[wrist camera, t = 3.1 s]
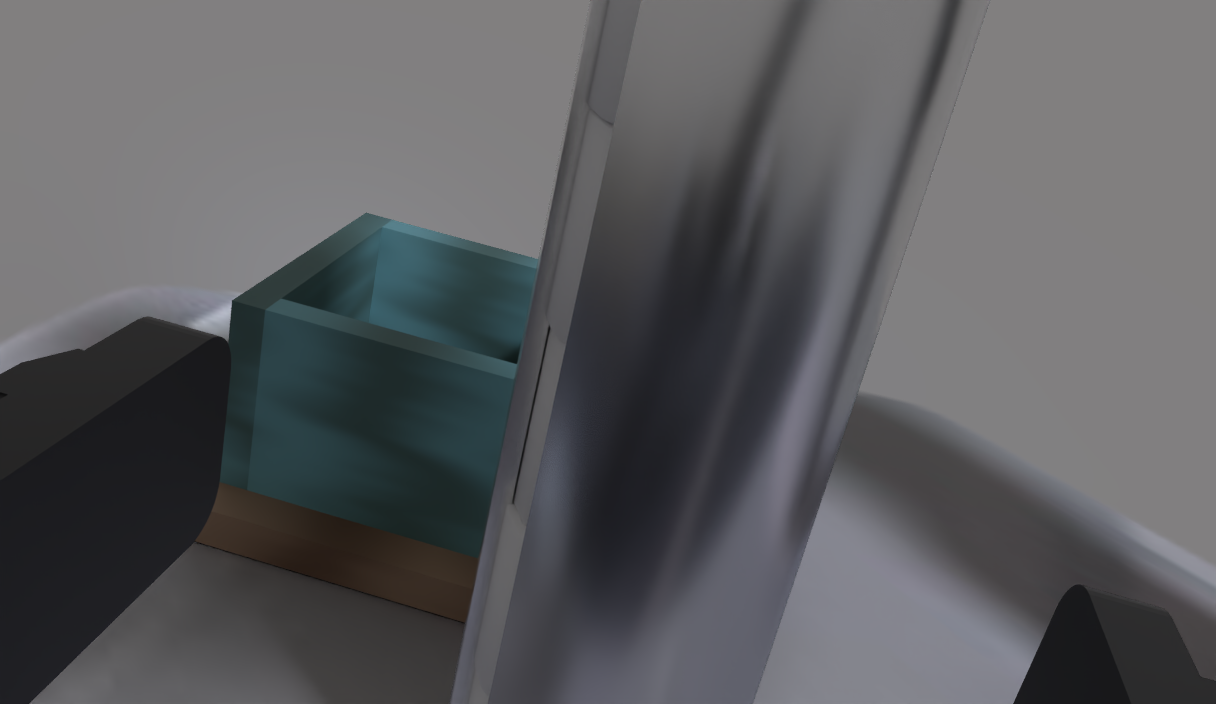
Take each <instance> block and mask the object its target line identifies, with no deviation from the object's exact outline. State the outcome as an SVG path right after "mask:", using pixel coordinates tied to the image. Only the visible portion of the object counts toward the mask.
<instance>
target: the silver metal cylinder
mask: <svg viewBox="0 0 1216 704" xmlns="http://www.w3.org/2000/svg"><path fill="white" fill-rule="evenodd" d="M989 3H990V0H590V4H589V9H588V14H587V19H586V24H585V29H584V34H583V39H582V44H581V49H580V54H579V59H578V63H577V68H576V74H575V78H574V83H573V89H572V93H571V98H570V103H569V108H568V114H567V119H566V123H565V129H564V133H563V138H562V143H561V148H560V154H559V158H558V163H557V168H556V173H555V178H554V183H553V188H552V193H551V198H550V203H549V208H548V213H547V218H546V223H545V228H544V233H543V238H542V243H541V248H540V253H539V258H538V263H537V268H536V273H535V277H534V282H533V287H532V292H531V297H530V302H529V307H528V312H527V317H526V322H525V327H524V332H523V337H522V342H521V347H520V352H519V357H518V362H517V367H516V372H515V377H514V382H513V387H512V392H511V397H510V402H509V407H508V412H507V417H506V422H505V427H504V432H503V437H502V442H501V447H500V452H499V457H498V462H497V467H496V472H495V477H494V482H493V487H492V491H491V496H490V501H489V506H488V511H487V516H486V521H485V526H484V531H483V536H482V541H481V546H480V551H479V556H478V561H477V566H476V571H475V576H474V581H473V586H472V591H471V596H470V601H469V606H468V611H467V616H466V621H465V626H464V631H463V636H462V641H461V646H460V651H459V656H458V661H457V666H456V671H455V676H454V681H453V686H452V691H451V696H450V701H449V704H753V702H754V699H755V696H756V693H757V690H758V687H759V684H760V681H761V678H762V675H763V672H764V670H765V667H766V664H767V661H768V658H769V655H770V652H771V649H772V646H773V643H774V640H775V637H776V634H777V631H778V628H779V625H780V622H781V619H782V616H783V613H784V610H785V607H786V604H787V601H788V598H789V595H790V592H791V589H792V587H793V584H794V581H795V578H796V575H797V572H798V569H799V566H800V563H801V560H802V557H803V554H804V551H805V548H806V545H807V542H808V539H809V536H810V533H811V530H812V527H813V524H814V521H815V518H816V515H817V512H818V509H819V507H820V504H821V501H822V498H823V495H824V492H825V489H826V486H827V483H828V480H829V477H830V474H831V471H832V468H833V465H834V462H835V459H836V456H837V453H838V450H839V447H840V444H841V441H842V438H843V435H844V432H845V429H846V427H847V424H848V421H849V418H850V415H851V412H852V409H853V406H854V403H855V400H856V397H857V394H858V391H859V388H860V385H861V382H862V379H863V376H864V373H865V370H866V367H867V364H868V361H869V358H870V355H871V352H872V349H873V347H874V344H875V340H876V338H877V335H878V332H879V329H880V326H881V323H882V320H883V317H884V314H885V311H886V308H887V304H888V302H889V299H890V296H891V293H892V290H893V287H894V284H895V281H896V278H897V275H898V272H899V269H900V267H901V263H902V260H903V257H904V255H905V252H906V249H907V245H908V243H909V240H910V237H911V234H912V231H913V228H914V225H915V222H916V219H917V216H918V213H919V210H920V207H921V204H922V201H923V198H924V195H925V192H926V189H927V186H928V184H929V181H930V178H931V174H932V172H933V168H934V166H935V163H936V160H937V156H938V154H939V151H940V148H941V145H942V142H943V139H944V136H945V133H946V130H947V127H948V124H949V121H950V118H951V115H952V112H953V109H954V106H955V104H956V101H957V97H958V95H959V92H960V89H961V86H962V83H963V80H964V77H965V74H966V71H967V68H968V65H969V62H970V59H971V56H972V53H973V50H974V47H975V44H976V41H977V38H978V35H979V32H980V29H981V26H982V24H983V21H984V18H985V14H986V12H987V9H988V6H989Z"/></svg>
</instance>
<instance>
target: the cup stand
mask: <svg viewBox="0 0 1216 704" xmlns="http://www.w3.org/2000/svg"><path fill="white" fill-rule="evenodd" d="M537 263H538V259H535V258H532V257H528V256H524V255H521V254H517V253H513V252H509V251H505V250H502V249H498V248H494V247H491V246H487V245H483V244H480V243H476V242H472V241H469V240H465V239H461V238H458V237H454V236H450V235H446V234H442V233H439V232H435V231H432V230H428V229H424V228H420V227H416V226H413V225H409V224H405V223H402V222H398V221H395V220H391V219H387V218H383V217H380V216H376V215H372V214H369V213H365V214H364V215H362V216H361V217H359V218H358V219H356V220H355V221H353V222H351V223H350V224H348V225H347V226H345V227H344V228H342V229H341V230H339V231H338V232H336V233H335V234H333V235H332V236H330V237H329V238H327V239H325V240H324V241H322V242H321V243H319V244H318V245H316V246H315V247H313V248H312V249H310V250H309V251H307V252H306V253H304V254H303V255H301V256H299V257H298V258H296V259H295V260H293V261H292V262H290V263H289V264H287V265H286V266H284V267H283V268H281V269H280V270H278V271H277V272H275V273H274V274H272V275H270V276H269V277H267V278H266V279H264V280H263V281H261V282H260V283H258V284H257V285H255V286H254V287H252V288H251V289H249V290H248V291H246V292H244V293H243V294H241V295H240V296H238V297H237V298H235V299H234V300H232V308H231V320H230V331H229V343H228V345H229V348H230V352H231V374H230V384H229V394H228V404H227V414H226V424H225V434H224V444H223V454H222V464H221V474H220V483H219V488H218V493H217V497H216V500H215V503H214V506H213V509H212V511H211V514H210V516H209V518H208V520H207V522H206V524H205V526H204V528H203V530H202V531H201V533H200V534H199V536H198V537H197V539H196V540H195V542H199V543H202V544H205V545H209V546H212V547H215V548H219V549H222V550H225V551H229V552H232V553H235V554H239V555H242V556H245V557H249V558H252V559H255V560H258V561H262V562H265V563H268V564H272V565H275V566H278V567H282V568H285V569H288V570H292V571H295V572H298V573H302V574H305V575H308V576H312V577H315V578H318V579H322V580H325V581H328V582H331V583H335V584H338V585H341V586H345V587H348V588H351V589H355V590H358V591H361V592H365V593H368V594H371V595H375V596H378V597H381V598H385V599H388V600H391V601H395V602H398V603H401V604H404V605H408V606H411V607H414V608H418V609H421V610H424V611H428V612H431V613H434V614H438V615H441V616H444V617H448V618H451V619H454V620H458V621H461V622H464V623H465V621H466V616H467V611H468V606H469V601H470V596H471V591H472V586H473V581H474V576H475V571H476V566H477V561H478V556H479V551H480V546H481V541H482V536H483V531H484V526H485V521H486V516H487V511H488V506H489V501H490V496H491V491H492V487H493V482H494V477H495V472H496V467H497V462H498V457H499V452H500V447H501V442H502V437H503V432H504V427H505V422H506V417H507V412H508V407H509V402H510V397H511V392H512V387H513V382H514V377H515V372H516V367H517V362H518V357H519V352H520V347H521V342H522V337H523V332H524V327H525V322H526V317H527V312H528V307H529V302H530V297H531V292H532V287H533V282H534V277H535V273H536V268H537Z"/></svg>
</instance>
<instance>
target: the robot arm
mask: <svg viewBox="0 0 1216 704" xmlns="http://www.w3.org/2000/svg"><path fill="white" fill-rule="evenodd" d="M230 374H231V352H230V348H229V345H228V343H227V341H226V340H225V339H224V338H222V337H219V336H216V335H212V334H209V333H205V332H202V331H198V330H195V329H191V328H188V327H184V326H181V325H177V324H174V323H170V322H167V321H163V320H160V319H156V318H153V317H143V318H141V319H138V320H136V321H135V322H133V323H131V324H129V325H128V326H126V327H124V328H123V329H121V330H119V331H117V332H116V333H114V334H112V335H110V336H109V337H107V338H105V339H104V340H102V341H100V342H98V343H97V344H95V345H93V346H91V347H90V348H88V349H86V350H80V349H75V350H71V351H67V352H63V353H59V354H55V355H51V356H47V357H43V358H39V359H35V360H31V361H26V362H22V363H20V364H18V365H16V366H15V367H13V368H11V369H9V370H7V371H5V372H4V373H2V374H0V704H29V703H30V702H31V701H32V700H33V699H34V698H35V697H36V696H37V695H38V694H39V693H40V692H41V691H42V690H43V689H44V688H46V687H47V686H48V685H49V684H50V683H51V682H52V681H53V680H54V679H55V678H56V677H57V676H58V675H59V674H60V673H61V672H62V671H63V670H64V669H65V668H66V667H67V666H68V665H69V664H70V663H71V662H72V661H73V660H74V659H75V658H76V657H77V656H78V655H79V654H80V653H81V652H82V651H83V650H84V649H85V648H86V647H87V646H88V645H89V644H90V643H91V642H93V641H94V640H95V639H96V638H97V637H98V636H99V635H100V634H101V633H102V632H103V631H104V630H105V629H106V628H107V627H108V626H109V625H110V624H111V623H112V622H113V621H114V620H115V619H116V618H117V617H118V616H119V615H120V614H121V613H122V612H123V611H124V610H125V609H126V608H127V607H128V606H129V605H130V604H131V603H132V602H133V601H134V600H135V599H136V598H137V597H139V596H140V595H141V594H142V593H143V592H144V591H145V590H146V589H147V588H148V587H149V586H150V585H151V584H152V583H153V582H154V581H155V580H156V579H157V578H158V577H159V576H160V575H161V574H162V573H163V572H164V571H165V570H166V569H167V568H168V567H169V566H170V565H171V564H172V563H173V562H174V561H175V560H176V559H177V558H178V557H179V556H180V555H181V554H182V553H183V552H184V551H186V550H187V549H188V548H189V547H190V546H191V544H192V543H193V542H194V541H195V540H196V539H197V537H198V536H199V534H200V533H201V531H202V530H203V528H204V526H205V524H206V522H207V520H208V518H209V516H210V514H211V511H212V509H213V506H214V503H215V500H216V497H217V493H218V488H219V483H220V474H221V464H222V454H223V444H224V434H225V424H226V414H227V404H228V394H229V384H230ZM1013 704H1216V681H1213V680H1210V679H1206V678H1203V677H1200V675H1199V673H1198V671H1197V669H1196V667H1195V665H1194V662H1193V660H1192V658H1191V656H1190V654H1189V652H1188V650H1187V648H1186V646H1185V644H1184V642H1183V640H1182V638H1181V636H1180V634H1179V632H1178V630H1177V628H1176V626H1175V624H1174V622H1173V620H1172V618H1171V616H1170V615H1169V613H1168V612H1167V611H1166V610H1165V609H1163V608H1160V607H1157V606H1153V605H1150V604H1146V603H1143V602H1139V601H1136V600H1132V599H1129V598H1125V597H1122V596H1118V595H1115V594H1111V593H1108V592H1104V591H1101V590H1097V589H1094V588H1090V587H1087V586H1083V585H1075V586H1073V587H1071V588H1070V589H1069V590H1068V591H1067V592H1066V593H1065V595H1064V596H1063V597H1062V599H1061V601H1060V602H1059V604H1058V606H1057V608H1056V610H1055V613H1054V615H1053V617H1052V619H1051V621H1050V624H1049V626H1048V628H1047V630H1046V632H1045V635H1044V637H1043V639H1042V641H1041V643H1040V646H1039V648H1038V650H1037V652H1036V655H1035V657H1034V659H1033V661H1032V663H1031V666H1030V668H1029V670H1028V672H1027V674H1026V677H1025V679H1024V681H1023V683H1022V685H1021V688H1020V690H1019V692H1018V694H1017V697H1016V699H1015V701H1014V703H1013Z"/></svg>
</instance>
